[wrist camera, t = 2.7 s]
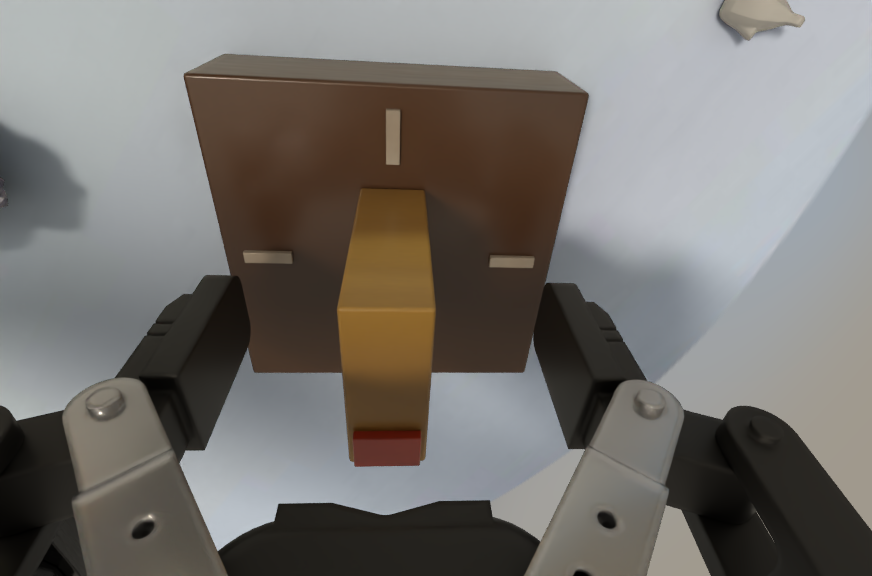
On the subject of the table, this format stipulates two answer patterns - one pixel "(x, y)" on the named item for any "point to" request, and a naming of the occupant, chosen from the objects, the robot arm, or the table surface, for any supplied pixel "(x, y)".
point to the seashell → (3, 194)
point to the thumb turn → (387, 329)
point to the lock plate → (386, 169)
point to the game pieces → (758, 15)
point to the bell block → (64, 553)
